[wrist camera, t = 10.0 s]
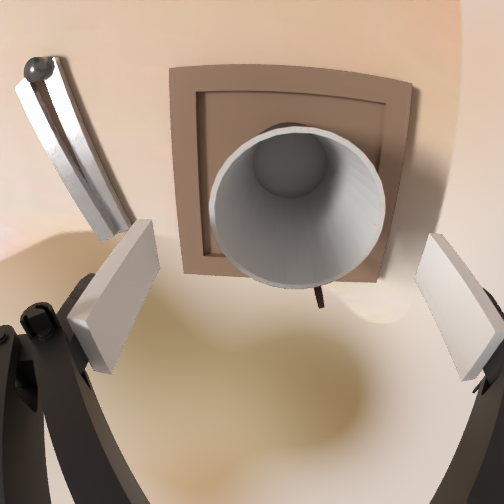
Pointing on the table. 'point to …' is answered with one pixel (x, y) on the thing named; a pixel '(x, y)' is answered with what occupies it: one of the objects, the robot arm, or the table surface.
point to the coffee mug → (297, 207)
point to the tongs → (98, 184)
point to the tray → (264, 116)
